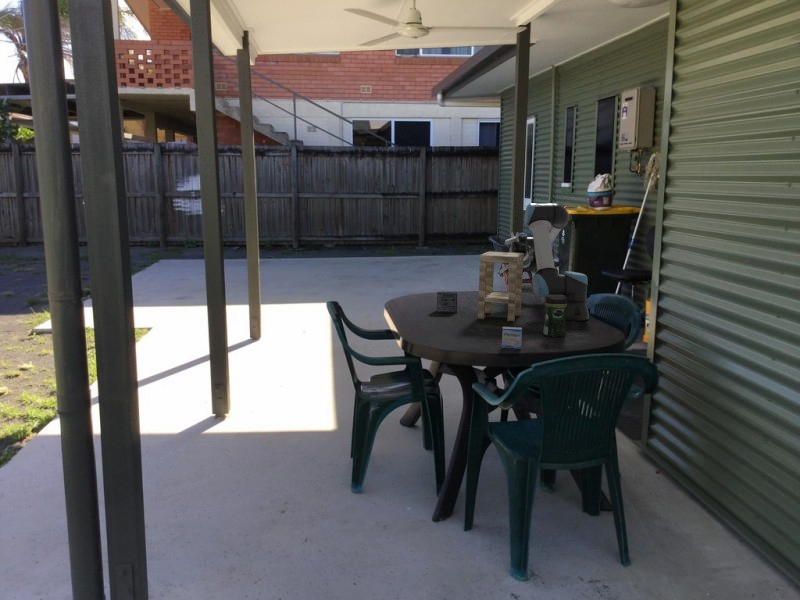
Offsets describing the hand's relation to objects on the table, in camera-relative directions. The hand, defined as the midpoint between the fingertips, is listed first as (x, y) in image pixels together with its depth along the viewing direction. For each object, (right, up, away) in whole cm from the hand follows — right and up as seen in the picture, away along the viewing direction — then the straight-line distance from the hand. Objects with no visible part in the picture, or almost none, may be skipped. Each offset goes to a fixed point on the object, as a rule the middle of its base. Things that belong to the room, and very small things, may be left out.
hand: (514, 234), depth 356 cm
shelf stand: (-11, -44, -19) cm, 49 cm away
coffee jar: (+8, -51, -56) cm, 77 cm away
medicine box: (-15, -55, -80) cm, 98 cm away
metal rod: (-2, -5, -4) cm, 6 cm away
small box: (-37, -42, -8) cm, 56 cm away
